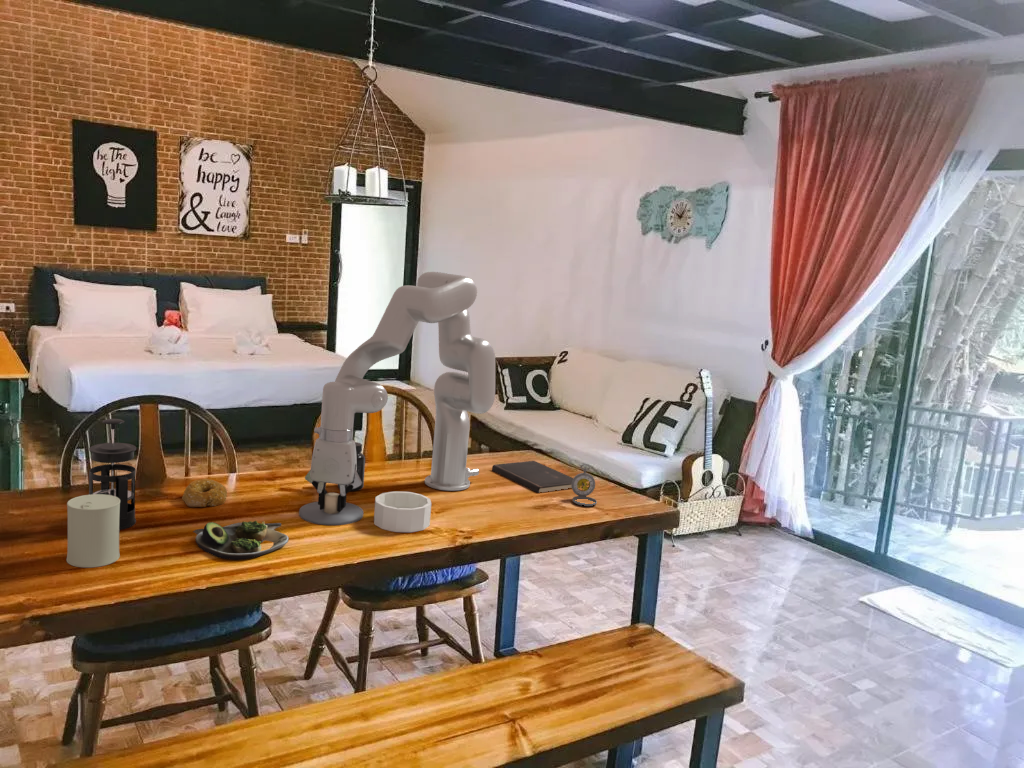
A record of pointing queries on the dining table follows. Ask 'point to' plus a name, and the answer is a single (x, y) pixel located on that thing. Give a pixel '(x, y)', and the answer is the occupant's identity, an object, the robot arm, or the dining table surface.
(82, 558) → the can
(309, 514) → the lid
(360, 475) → the supplement bottle
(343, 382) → the robot arm
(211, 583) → the dining table surface
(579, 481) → the pocket watch
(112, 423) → the french press
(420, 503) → the bowl
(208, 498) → the bagel
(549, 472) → the hardcover book
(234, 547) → the salad plate
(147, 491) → the dining table surface
